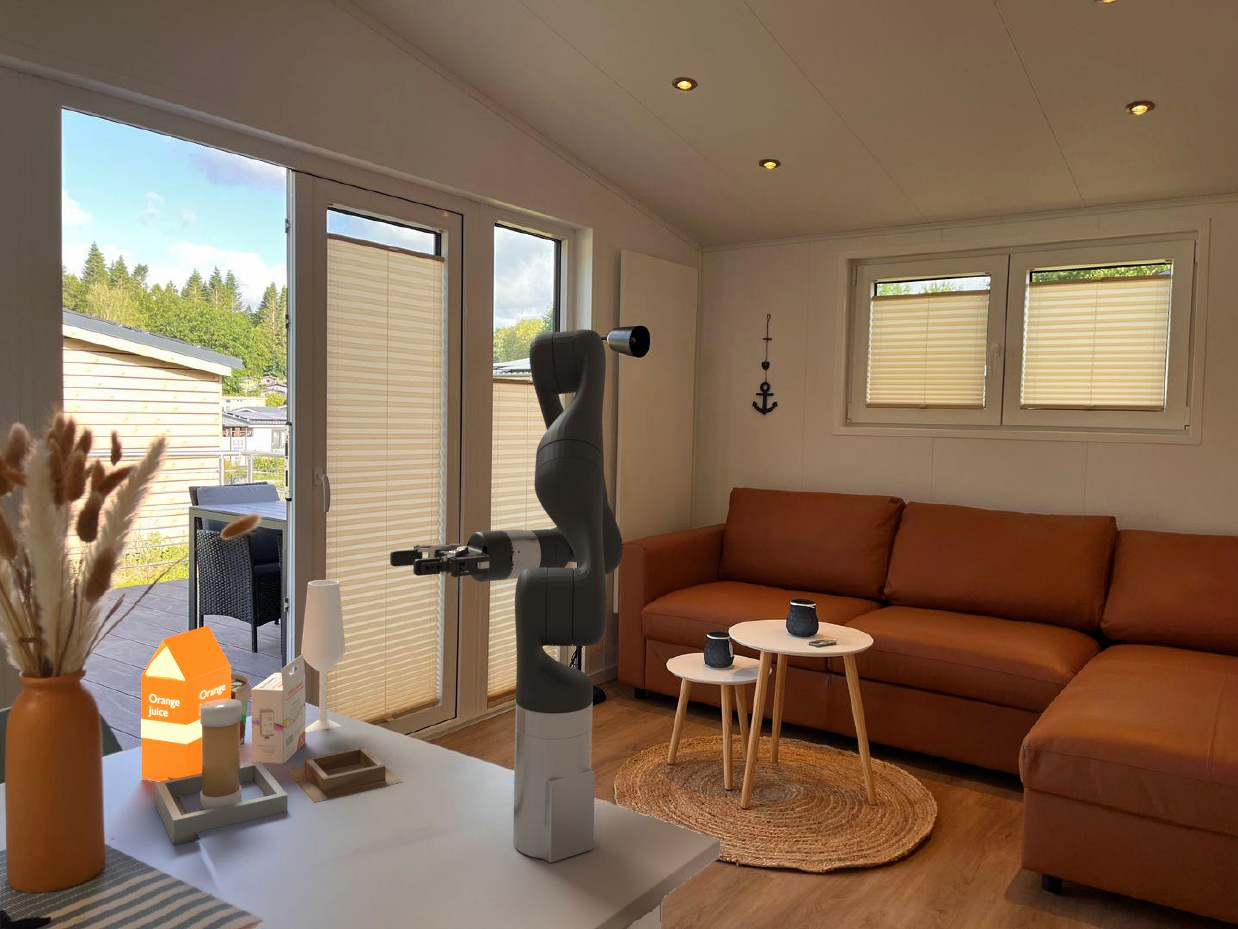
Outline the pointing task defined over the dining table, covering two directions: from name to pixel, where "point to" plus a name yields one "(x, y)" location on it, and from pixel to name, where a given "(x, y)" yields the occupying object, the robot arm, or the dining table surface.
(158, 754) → the orange juice
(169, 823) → the grey parts tray
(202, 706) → the cartridge fuse
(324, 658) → the champagne flute
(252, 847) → the dining table surface
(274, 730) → the ink cartridge box
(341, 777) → the walnut block
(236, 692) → the food container
